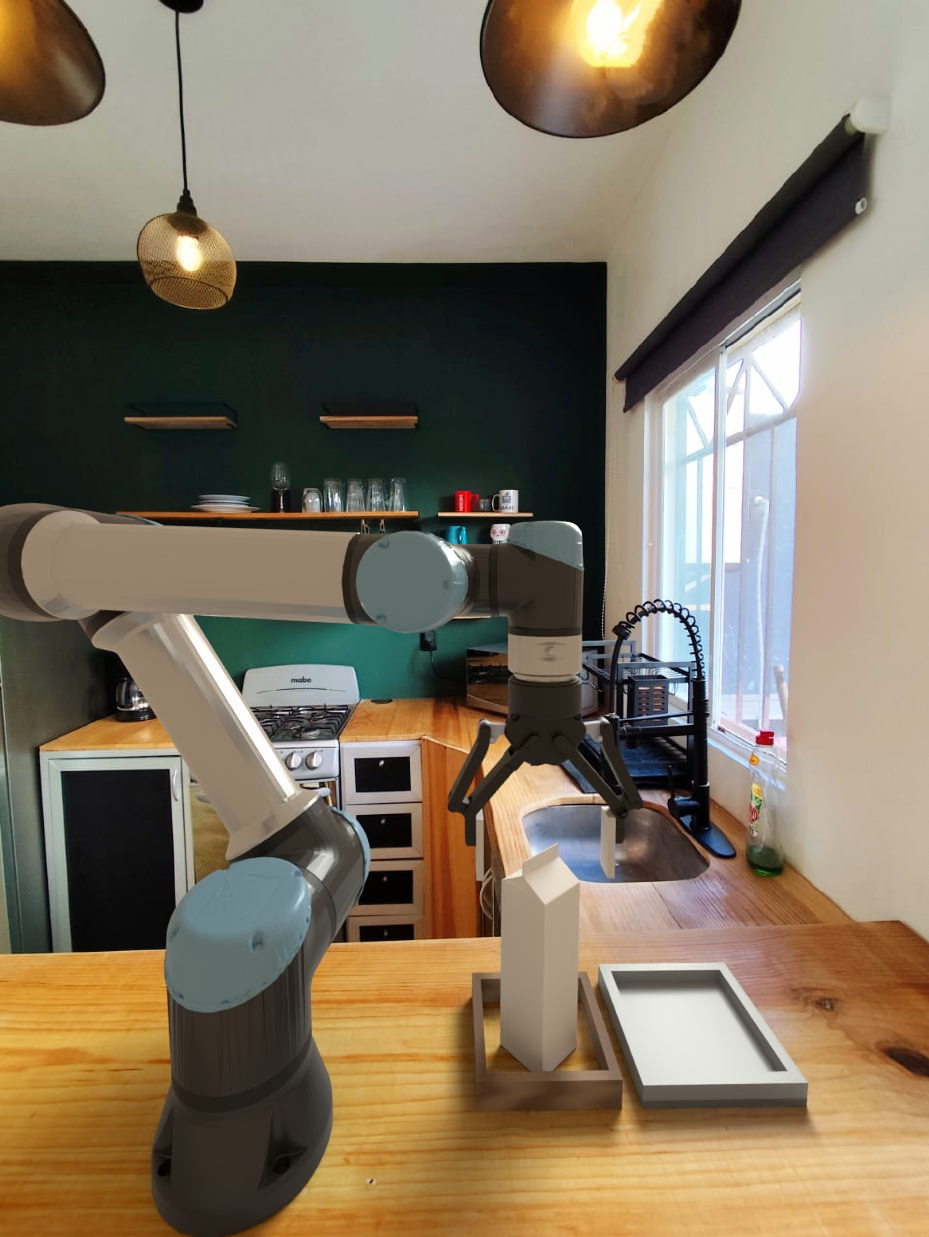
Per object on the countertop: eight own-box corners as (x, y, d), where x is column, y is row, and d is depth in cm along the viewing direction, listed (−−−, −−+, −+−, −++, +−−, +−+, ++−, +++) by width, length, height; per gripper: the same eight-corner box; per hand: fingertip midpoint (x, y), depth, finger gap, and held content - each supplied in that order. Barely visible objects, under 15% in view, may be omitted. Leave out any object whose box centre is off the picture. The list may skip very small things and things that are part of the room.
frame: (476, 1111, 51) (476, 1082, 51) (471, 995, 65) (472, 972, 65) (622, 1108, 51) (622, 1079, 51) (586, 994, 65) (586, 971, 65)
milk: (577, 1047, 58) (583, 853, 56) (541, 1083, 54) (547, 874, 52) (533, 1013, 62) (538, 832, 60) (498, 1044, 58) (501, 850, 56)
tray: (642, 1108, 51) (643, 1085, 51) (598, 981, 67) (598, 963, 67) (806, 1105, 52) (808, 1082, 51) (723, 980, 67) (724, 962, 67)
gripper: (421, 683, 51) (423, 895, 52) (680, 680, 51) (674, 891, 53) (425, 669, 58) (427, 855, 60) (651, 667, 59) (647, 852, 60)
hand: (543, 872), depth 56 cm, fingers open, 13 cm apart
